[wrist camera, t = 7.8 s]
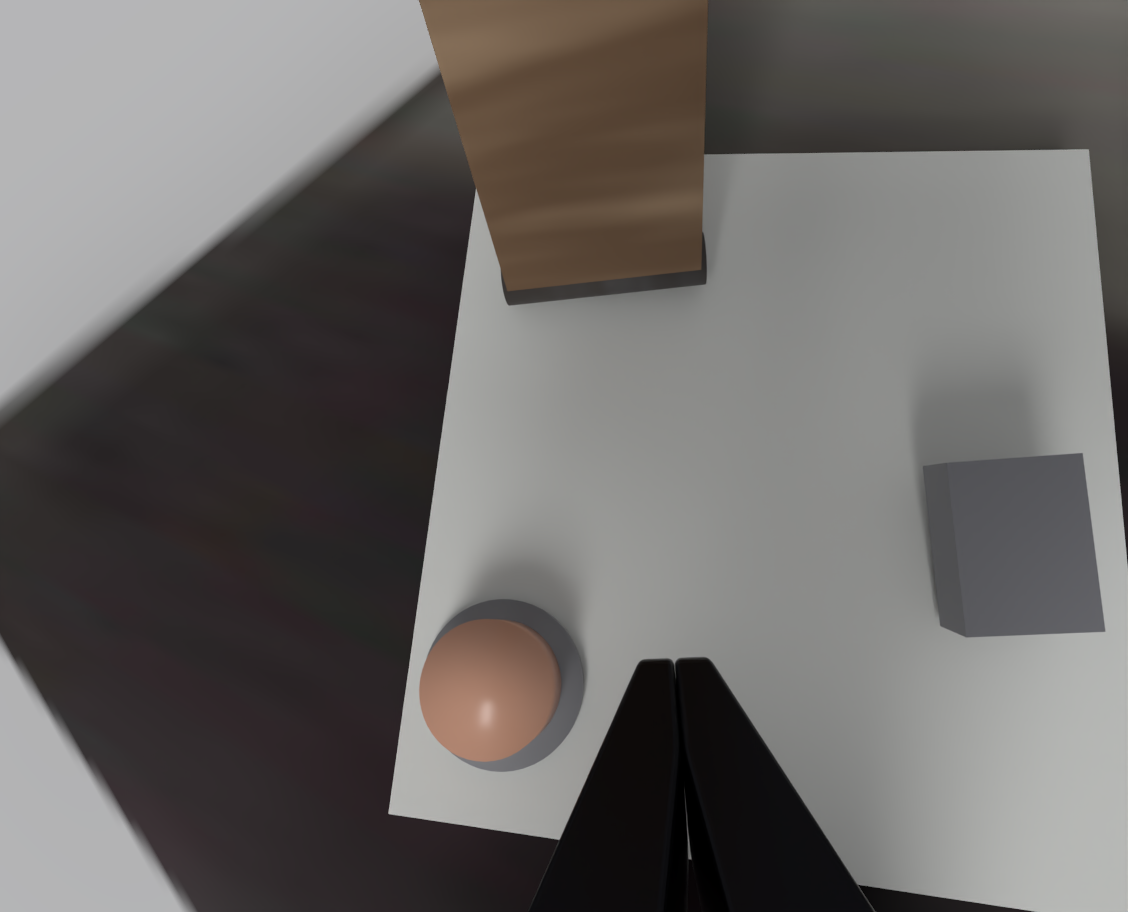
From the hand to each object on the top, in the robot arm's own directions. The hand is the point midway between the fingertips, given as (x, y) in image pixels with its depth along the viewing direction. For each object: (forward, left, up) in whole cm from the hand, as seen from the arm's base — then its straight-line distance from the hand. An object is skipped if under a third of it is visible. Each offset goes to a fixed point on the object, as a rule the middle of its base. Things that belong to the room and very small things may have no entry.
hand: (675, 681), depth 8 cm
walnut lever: (+12, +3, -11) cm, 16 cm away
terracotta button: (-1, +5, -12) cm, 13 cm away
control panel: (+6, -2, -14) cm, 15 cm away
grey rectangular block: (+4, -8, -11) cm, 14 cm away
